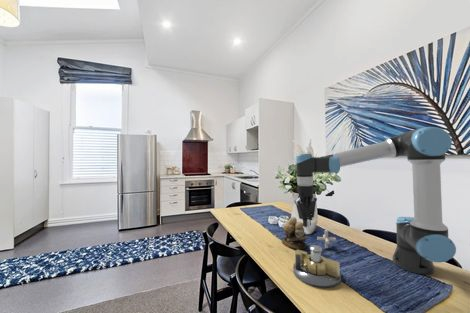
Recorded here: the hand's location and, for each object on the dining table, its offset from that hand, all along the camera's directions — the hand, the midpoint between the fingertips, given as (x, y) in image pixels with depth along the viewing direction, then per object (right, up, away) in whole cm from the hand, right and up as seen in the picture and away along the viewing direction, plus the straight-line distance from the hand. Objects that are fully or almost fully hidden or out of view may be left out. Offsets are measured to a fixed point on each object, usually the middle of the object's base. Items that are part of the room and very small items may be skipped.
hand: (307, 232), depth 101 cm
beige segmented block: (+1, -13, -8) cm, 15 cm away
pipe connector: (+18, -16, +19) cm, 30 cm away
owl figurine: (0, -16, +23) cm, 28 cm away
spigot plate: (+1, -16, -8) cm, 18 cm away
